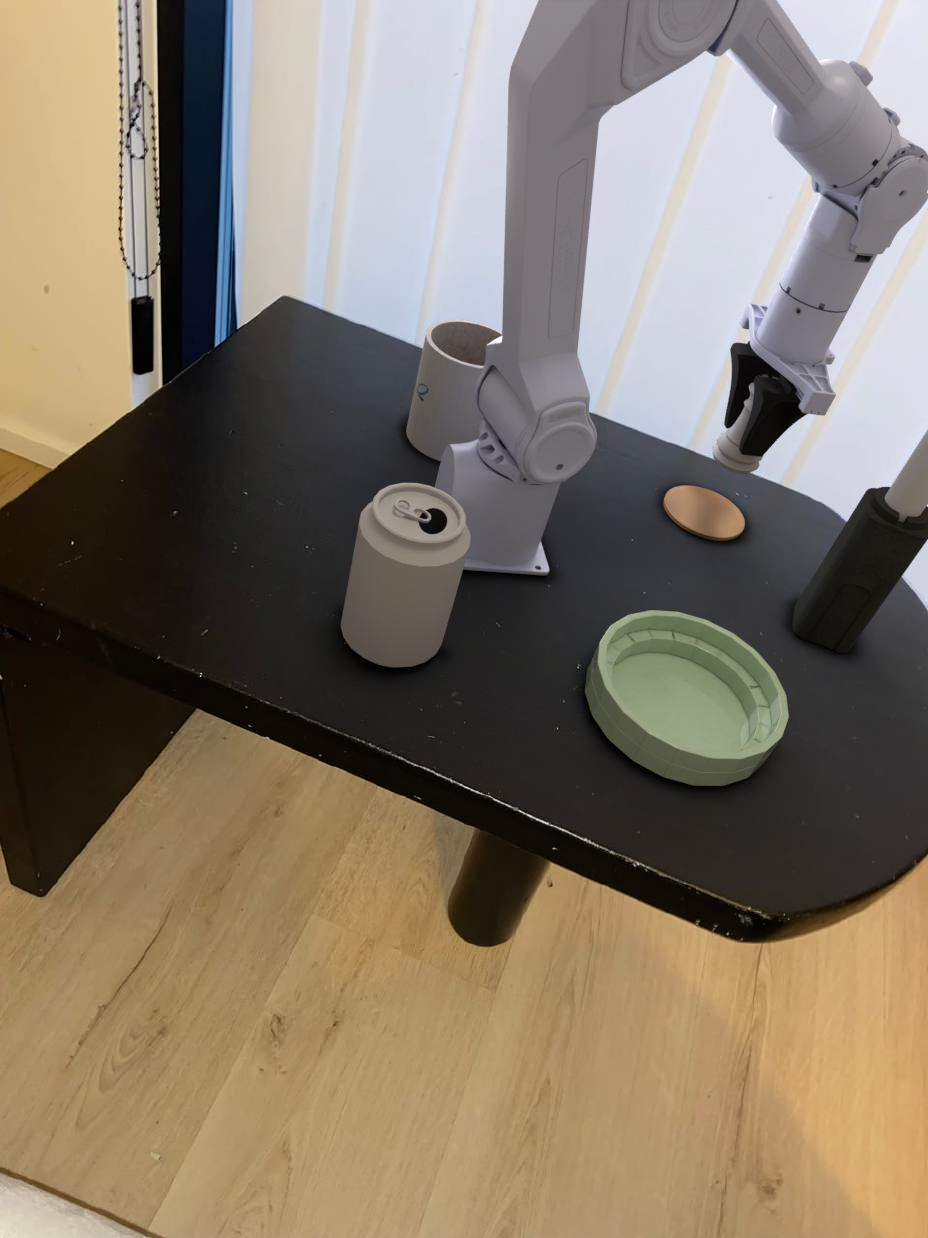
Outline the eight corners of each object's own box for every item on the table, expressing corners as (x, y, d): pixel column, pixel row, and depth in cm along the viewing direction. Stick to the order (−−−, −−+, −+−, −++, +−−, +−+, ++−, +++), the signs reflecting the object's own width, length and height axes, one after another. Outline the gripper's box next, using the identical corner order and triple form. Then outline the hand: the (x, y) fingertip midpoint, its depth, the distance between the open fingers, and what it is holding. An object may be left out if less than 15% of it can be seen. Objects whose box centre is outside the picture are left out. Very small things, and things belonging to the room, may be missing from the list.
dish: (610, 788, 64) (627, 756, 61) (565, 637, 73) (578, 604, 71) (796, 791, 67) (819, 760, 65) (729, 646, 77) (747, 615, 75)
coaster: (677, 537, 87) (679, 533, 86) (653, 484, 92) (654, 481, 92) (755, 544, 89) (757, 540, 88) (726, 492, 94) (728, 489, 94)
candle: (850, 621, 83) (1024, 368, 66) (849, 657, 79) (1033, 399, 63) (794, 599, 84) (953, 343, 67) (791, 635, 80) (957, 372, 63)
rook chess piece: (703, 443, 86) (740, 364, 80) (748, 450, 87) (787, 372, 81) (717, 472, 82) (755, 392, 77) (763, 479, 83) (805, 400, 78)
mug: (479, 475, 87) (505, 379, 80) (392, 443, 88) (412, 345, 81) (514, 416, 96) (541, 325, 89) (436, 387, 97) (456, 295, 90)
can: (427, 688, 66) (464, 559, 58) (325, 657, 66) (348, 524, 58) (449, 620, 72) (486, 493, 64) (355, 591, 72) (380, 461, 64)
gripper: (900, 347, 70) (815, 494, 79) (821, 261, 80) (754, 401, 89) (817, 334, 68) (739, 486, 77) (747, 249, 78) (686, 392, 87)
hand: (742, 440), depth 83 cm, fingers closed on rook chess piece, 3 cm apart
